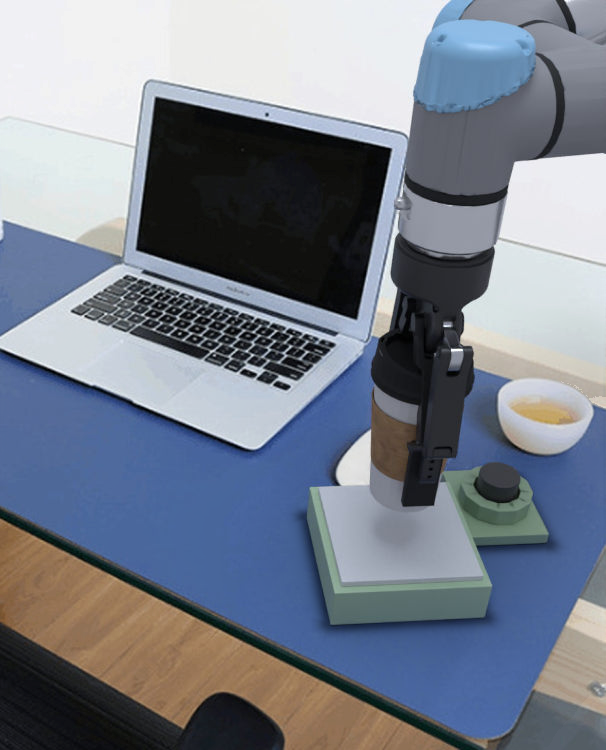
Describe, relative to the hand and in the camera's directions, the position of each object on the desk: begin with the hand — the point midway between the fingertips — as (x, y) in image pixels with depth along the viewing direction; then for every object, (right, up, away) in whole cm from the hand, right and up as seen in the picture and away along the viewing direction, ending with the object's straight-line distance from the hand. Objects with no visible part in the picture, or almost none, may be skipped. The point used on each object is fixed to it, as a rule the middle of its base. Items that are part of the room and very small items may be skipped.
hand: (406, 471), depth 88 cm
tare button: (+11, -3, +12) cm, 16 cm away
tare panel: (+11, -5, +13) cm, 18 cm away
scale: (0, -9, +6) cm, 11 cm away
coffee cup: (0, -2, +1) cm, 2 cm away
